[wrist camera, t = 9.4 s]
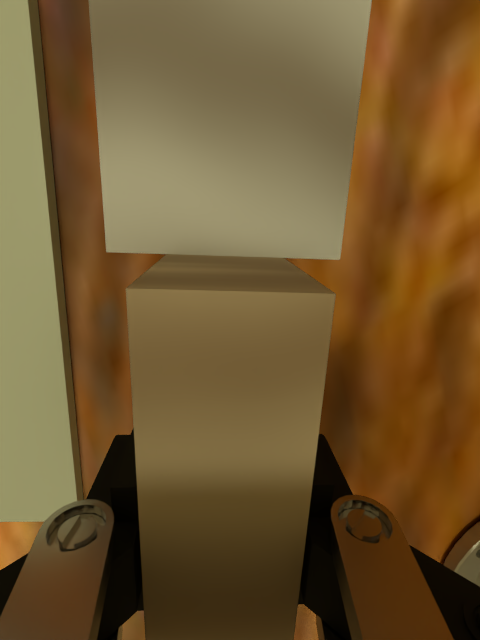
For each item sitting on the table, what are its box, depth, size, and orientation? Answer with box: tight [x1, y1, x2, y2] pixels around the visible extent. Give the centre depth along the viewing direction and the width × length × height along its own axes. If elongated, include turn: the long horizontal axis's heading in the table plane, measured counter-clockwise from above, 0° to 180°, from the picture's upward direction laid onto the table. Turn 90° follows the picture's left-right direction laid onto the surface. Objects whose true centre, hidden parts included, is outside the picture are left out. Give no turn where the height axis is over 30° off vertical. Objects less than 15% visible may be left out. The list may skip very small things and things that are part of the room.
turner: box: [89, 0, 372, 640], centre depth 8 cm, size 21×6×5 cm, turn 178°
